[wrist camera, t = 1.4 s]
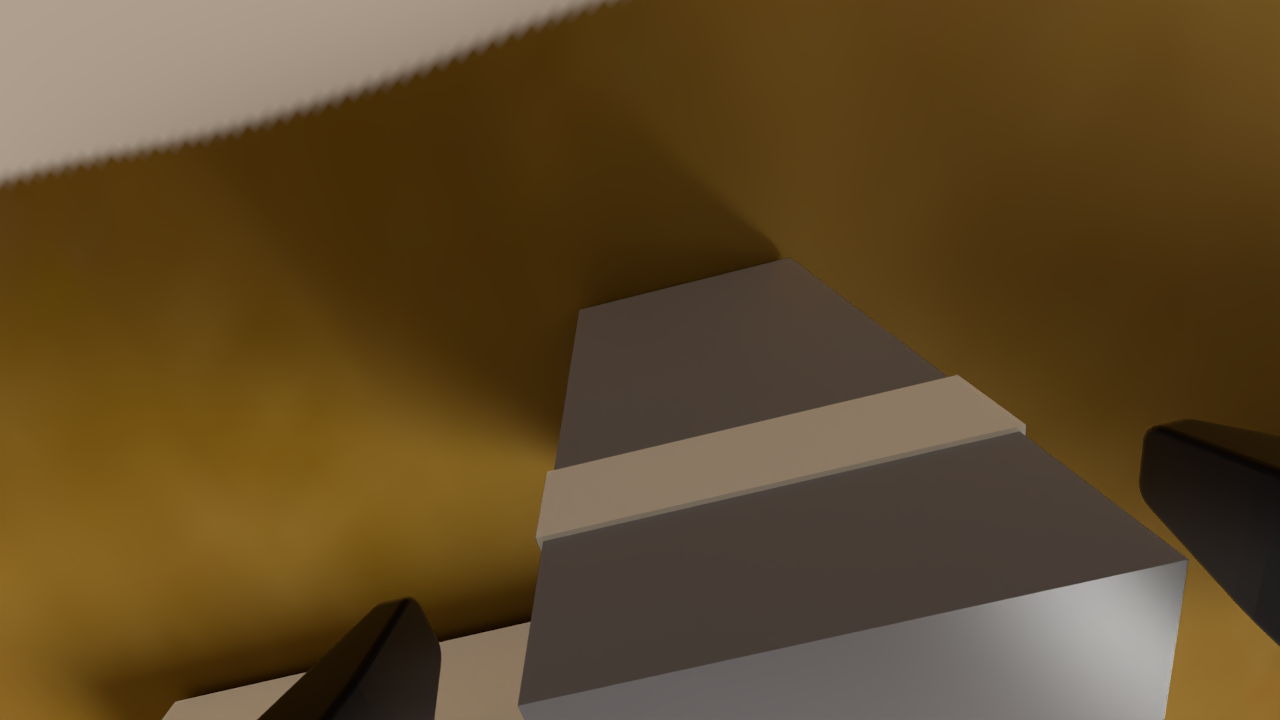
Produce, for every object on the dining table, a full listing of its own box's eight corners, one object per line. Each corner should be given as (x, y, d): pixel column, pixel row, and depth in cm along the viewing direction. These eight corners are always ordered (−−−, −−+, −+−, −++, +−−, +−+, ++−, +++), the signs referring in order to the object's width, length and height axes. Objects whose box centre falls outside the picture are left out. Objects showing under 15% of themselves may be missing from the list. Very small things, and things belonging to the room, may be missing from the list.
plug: (792, 253, 11) (1198, 549, 3) (819, 443, 12) (1138, 931, 5) (575, 307, 11) (506, 700, 4) (629, 487, 12) (658, 1021, 5)
